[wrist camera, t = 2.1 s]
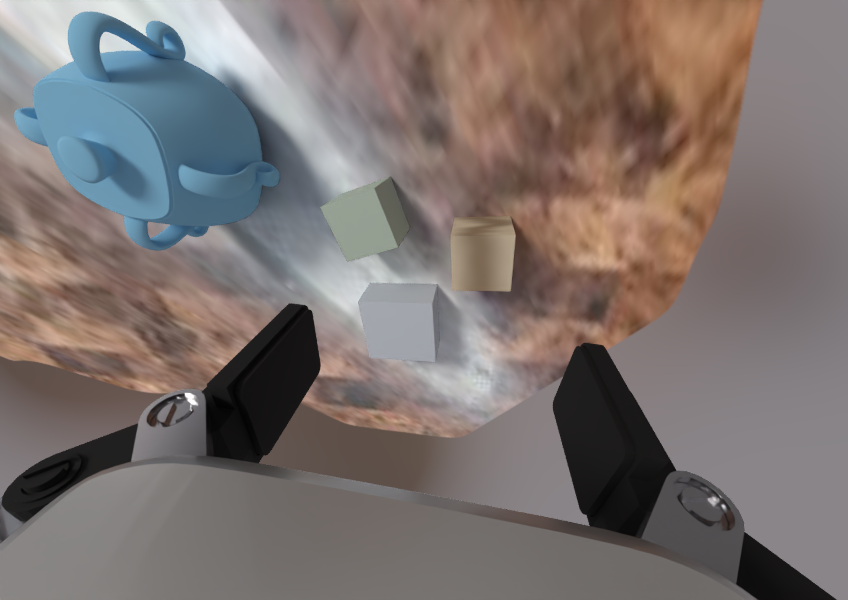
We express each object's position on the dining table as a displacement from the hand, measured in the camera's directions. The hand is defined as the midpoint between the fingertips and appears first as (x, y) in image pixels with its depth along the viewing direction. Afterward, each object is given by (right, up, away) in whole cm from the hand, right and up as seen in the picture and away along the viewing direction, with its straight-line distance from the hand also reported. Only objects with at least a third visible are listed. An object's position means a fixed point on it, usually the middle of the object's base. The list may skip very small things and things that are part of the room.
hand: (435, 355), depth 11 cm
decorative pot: (-24, +20, +23) cm, 39 cm away
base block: (-3, 0, +31) cm, 31 cm away
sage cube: (-6, +12, +24) cm, 28 cm away
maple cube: (+6, +9, +24) cm, 26 cm away
